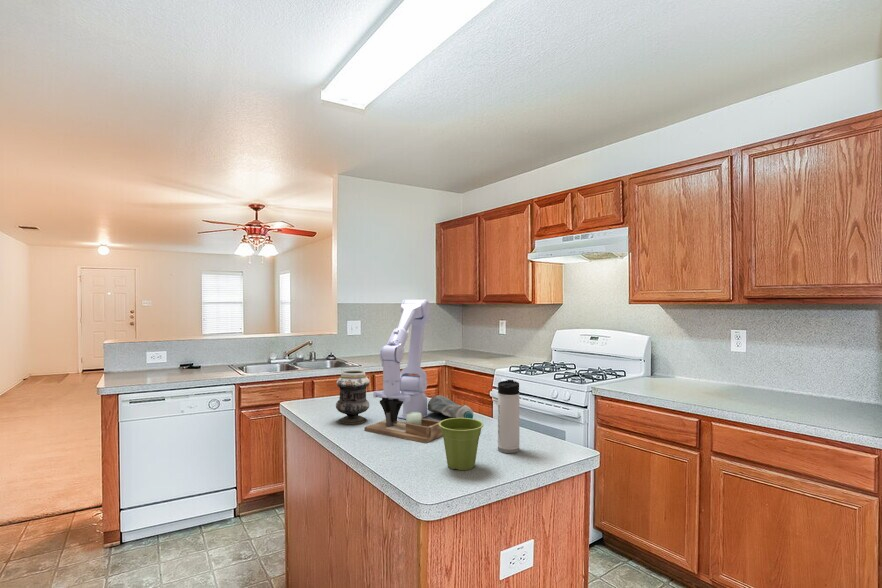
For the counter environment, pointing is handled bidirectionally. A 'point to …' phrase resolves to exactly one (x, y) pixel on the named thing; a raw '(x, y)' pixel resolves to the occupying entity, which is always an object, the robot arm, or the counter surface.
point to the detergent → (449, 408)
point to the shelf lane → (409, 430)
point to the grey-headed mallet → (410, 418)
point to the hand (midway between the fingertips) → (391, 420)
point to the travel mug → (508, 416)
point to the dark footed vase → (352, 396)
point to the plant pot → (461, 441)
